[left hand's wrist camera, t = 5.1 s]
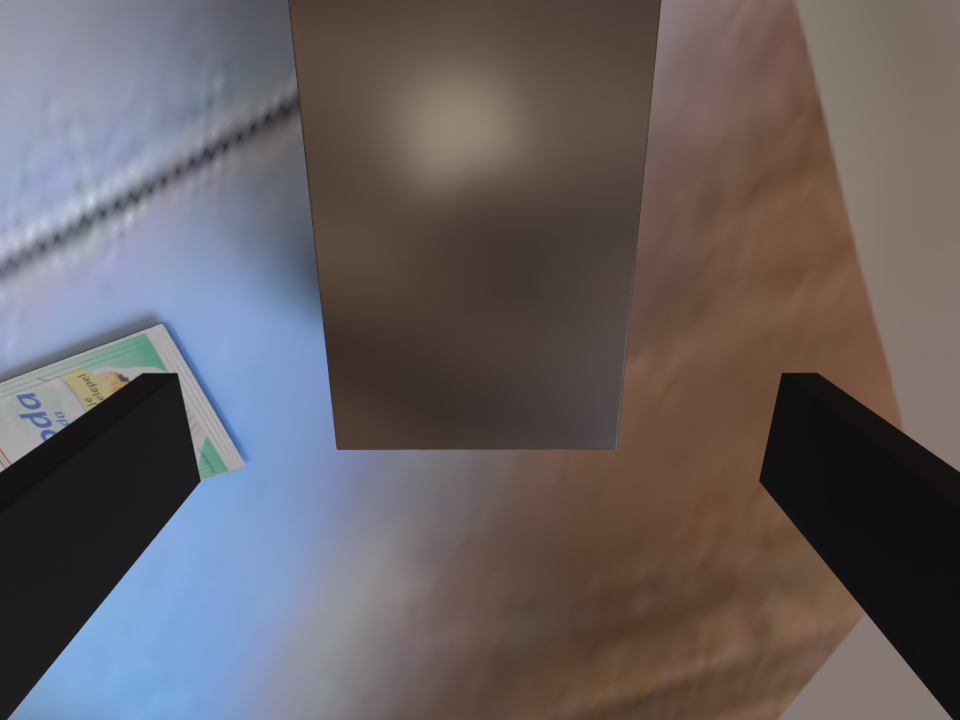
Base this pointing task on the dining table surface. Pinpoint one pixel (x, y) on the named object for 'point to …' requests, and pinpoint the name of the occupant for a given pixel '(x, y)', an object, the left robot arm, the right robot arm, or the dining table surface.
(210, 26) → the dining table surface
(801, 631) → the dining table surface
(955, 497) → the left robot arm
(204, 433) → the baking ingredient package
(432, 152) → the taupe rectangular box
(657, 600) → the dining table surface
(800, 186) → the dining table surface
